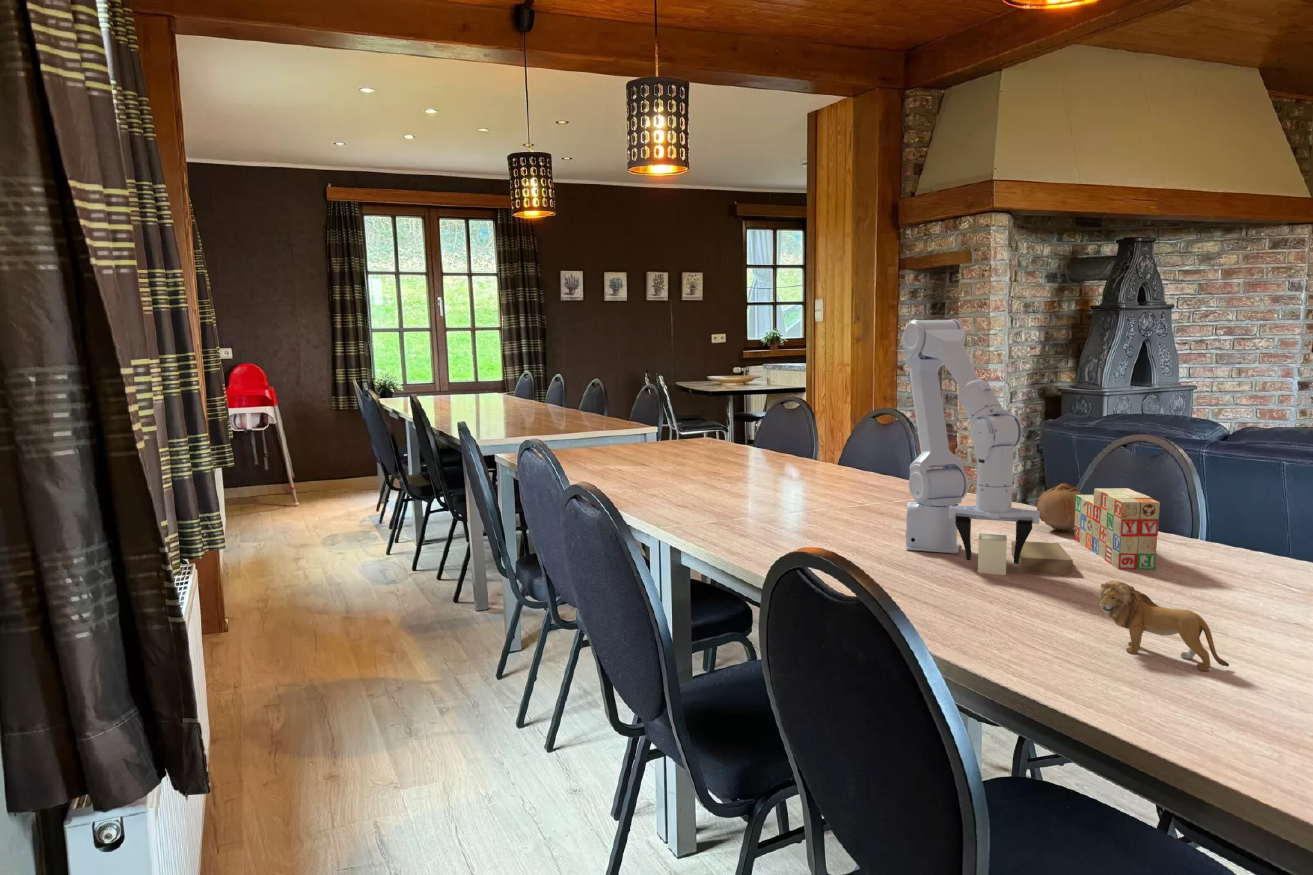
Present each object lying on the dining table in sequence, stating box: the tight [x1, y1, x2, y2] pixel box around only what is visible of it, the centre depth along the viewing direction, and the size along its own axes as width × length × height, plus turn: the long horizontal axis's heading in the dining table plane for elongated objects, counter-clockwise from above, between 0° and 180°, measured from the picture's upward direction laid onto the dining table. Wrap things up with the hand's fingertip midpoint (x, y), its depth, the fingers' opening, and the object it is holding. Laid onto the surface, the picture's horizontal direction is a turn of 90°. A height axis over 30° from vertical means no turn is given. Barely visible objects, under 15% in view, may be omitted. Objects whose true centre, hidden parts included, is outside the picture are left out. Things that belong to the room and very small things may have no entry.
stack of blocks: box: [1073, 487, 1161, 571], centre depth 154 cm, size 21×6×12 cm, turn 173°
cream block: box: [977, 533, 1008, 576], centre depth 145 cm, size 4×4×6 cm
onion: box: [1036, 482, 1083, 532], centre depth 172 cm, size 10×9×10 cm
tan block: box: [1010, 540, 1074, 576], centre depth 149 cm, size 8×12×3 cm, turn 165°
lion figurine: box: [1098, 580, 1230, 672], centre depth 106 cm, size 15×5×9 cm, turn 50°
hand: (992, 560), depth 145 cm, fingers open, 7 cm apart
